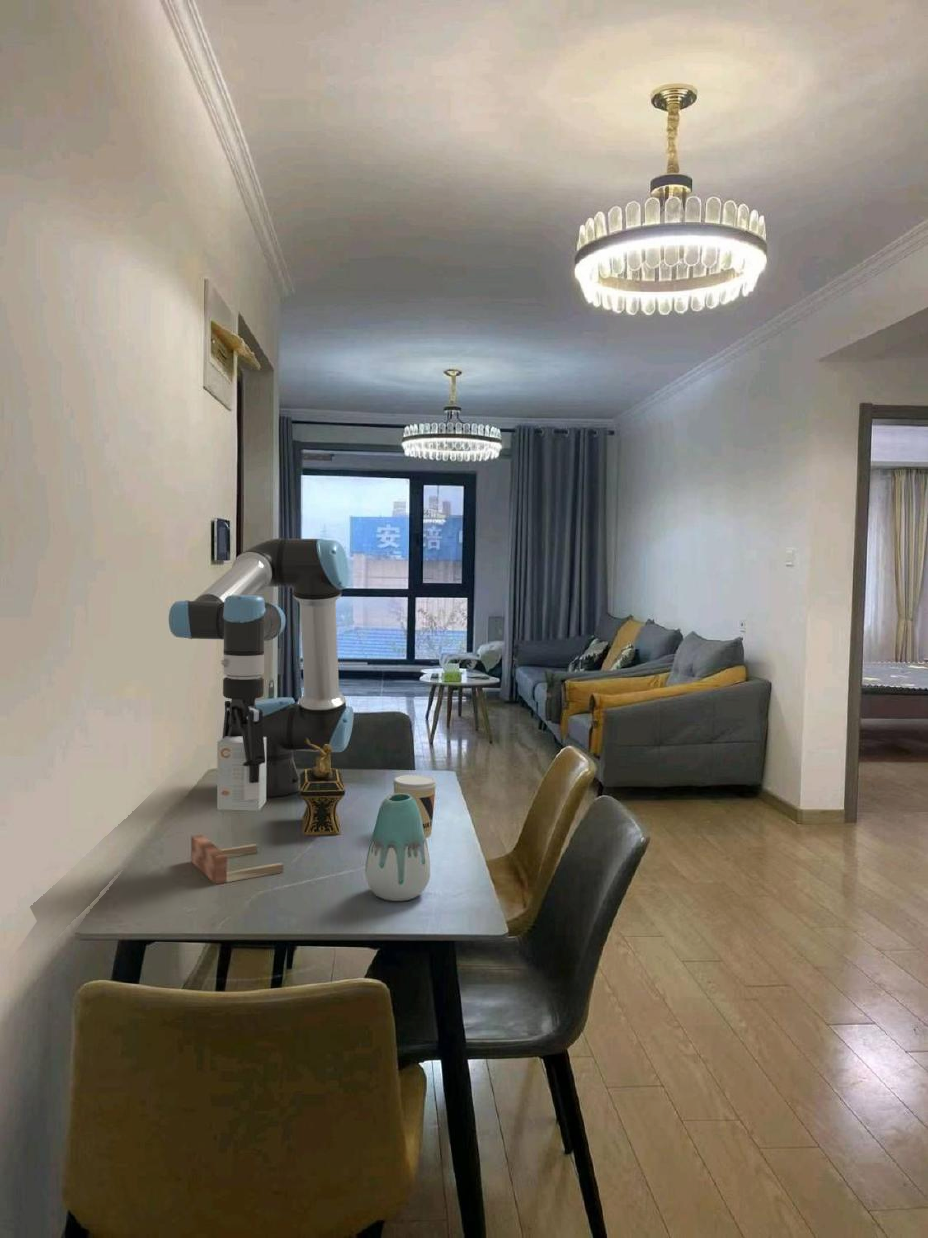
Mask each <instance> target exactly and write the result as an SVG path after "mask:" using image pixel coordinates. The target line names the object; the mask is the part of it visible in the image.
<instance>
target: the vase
mask: <svg viewBox="0 0 928 1238" xmlns="http://www.w3.org/2000/svg"><path fill="white" fill-rule="evenodd" d="M375 821H376V822H375V826H374V829H373V832H372V835H371V839H370V844H369V847H368V850H367V853H366V857H365V858H366V859H365V869H364V871H365V872H364V873H365V874H364V875H365V880H366V884H367V885H368V888H369V889H370V890H371V892H372V893H373V894H374V895H375V896H377V898H380V899H383V900H385V901H390V902H404V901H409V900H413V899H415V898H417V897H418V896H420V895H421V894H422V893H423V892H424V891H425V889H426V888H427V885H429V884H428V883H429V881H430V878H431V859H430V858H431V857H430V853H429V847H428V841H427V838H426V837H425V834H424V830H423V825H422V820H421V815H420V812H419V808H418V806H417V804H416V802H415V800H414V799H413V797H412V796H411V795H410V794H407V793H396V794H394V793H392V794H389V795H388V796H386V797H385V798H384V799H383V800H382V803H381V804H380V807H379V809H378V814H377V817H376V820H375Z"/></svg>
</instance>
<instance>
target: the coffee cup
mask: <svg viewBox="0 0 928 1238" xmlns="http://www.w3.org/2000/svg"><path fill="white" fill-rule="evenodd" d="M392 785H393V794H396V793H407V794H410V795H411V796H412V797H413V799H414V800H415V802H416V804H417V806H418V808H419V812H420V815H421V820H422V825H423V830H424V834H425V837H426V839H427V838H430V837H431V835H432V829H433V821H434V819H433V817H434V811H435V810H434V809H435V796H436V787H437V782H436V779H435V778H434V777H432V776H428V775H421V774H405V775H400V776H397V777H395V778H394V781H393V783H392Z"/></svg>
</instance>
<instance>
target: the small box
mask: <svg viewBox="0 0 928 1238" xmlns="http://www.w3.org/2000/svg"><path fill="white" fill-rule="evenodd" d="M263 738H264V750H265V763H261V765H260V798H259V799H253V800H244V768H245V766H243V764H244V763H245V762H246V755H245V749H244V743H243V737H241V736H234V737H230V736H226V737H224V738H223V739H222V738H221V739H220V740H219V741H217V744H216V746H217V750H216V751H217V754H216V755H217V758H216V759H217V765H216V766H217V768H216V769H217V770H216V771H217V772H216V774H217V776H216V780H217V785H216V786H217V787H216V788H217V789H216V790H217V791H216V808H217V809H216V810H219V811H221V810H223V811H257V812H258V811H260V810H261V809H262V807H264V805H265V803H266V802H267V797H266V737H263Z"/></svg>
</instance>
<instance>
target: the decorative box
mask: <svg viewBox="0 0 928 1238" xmlns="http://www.w3.org/2000/svg"><path fill="white" fill-rule="evenodd" d="M306 739H307V742H306V741H305V742H306V743H307V744H308V745H310V746H312V747H314V748H315V749H317V750H318V751H319V752H318V753H320V756H318V757H315V762H316V763H315V764H316V765H315V766H313V767H311V768H307V769H304V770H303V771H302V772H301V773H300V774H299V780H300V783H299V785H300V789H299V796H300V797H301V798H302V800H303V801H304V803H305V804H306V807H305V810H304V812H303V814H302V817H301V824H302V826H301V827H302V828H301V829H302V835H304V836H307V837H309V836H337V835H339V834H341V833H342V831H341V826H340V820H339V815H338V813H337V807H338V804H339V803H340V801H341V800H342V799H343V798H344V796H345V795H346V790H345V784H344V781H343V776H342V773H341V772H340V771H339V770H338V769H337V768H331V767H332V766H331V765H332V764H331V763H332V761H331V755H332V753H333V752H332V746H331V745H328V744H325V745H324V747H323V748H322V749H320V747H318V746H316V745H313V744H310V742H309V740H308V738H306Z"/></svg>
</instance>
